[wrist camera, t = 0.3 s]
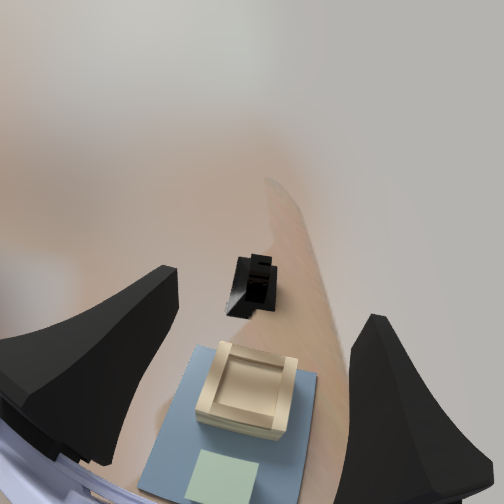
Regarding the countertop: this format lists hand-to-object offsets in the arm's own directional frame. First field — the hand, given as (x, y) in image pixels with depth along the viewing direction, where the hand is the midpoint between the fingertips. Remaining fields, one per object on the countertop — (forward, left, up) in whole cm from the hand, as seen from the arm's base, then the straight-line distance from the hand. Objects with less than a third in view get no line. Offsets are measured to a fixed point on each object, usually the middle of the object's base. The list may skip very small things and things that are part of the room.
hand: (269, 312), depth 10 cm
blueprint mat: (+1, 0, -20) cm, 20 cm away
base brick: (+5, 0, -20) cm, 21 cm away
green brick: (-5, 0, -20) cm, 20 cm away
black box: (+23, +3, -21) cm, 31 cm away
